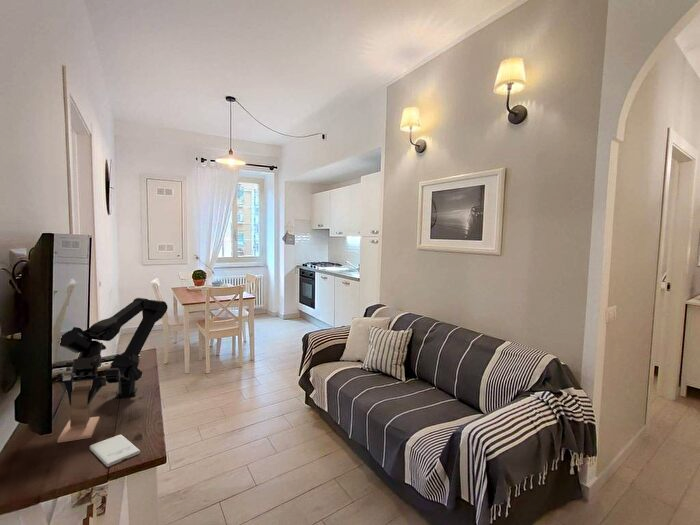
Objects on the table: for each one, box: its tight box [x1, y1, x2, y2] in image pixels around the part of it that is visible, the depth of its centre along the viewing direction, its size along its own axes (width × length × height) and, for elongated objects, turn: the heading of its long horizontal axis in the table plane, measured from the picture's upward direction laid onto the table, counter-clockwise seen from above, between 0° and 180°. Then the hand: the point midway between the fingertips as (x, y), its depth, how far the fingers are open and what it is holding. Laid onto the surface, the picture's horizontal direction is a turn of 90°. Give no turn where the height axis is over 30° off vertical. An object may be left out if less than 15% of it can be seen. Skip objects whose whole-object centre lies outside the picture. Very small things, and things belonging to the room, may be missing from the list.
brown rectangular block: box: [69, 385, 92, 428], centre depth 107 cm, size 4×4×11 cm
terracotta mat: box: [56, 416, 100, 444], centre depth 107 cm, size 12×8×1 cm, turn 26°
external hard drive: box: [89, 434, 141, 468], centre depth 98 cm, size 2×8×12 cm
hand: (79, 404), depth 105 cm, fingers closed on brown rectangular block, 4 cm apart
